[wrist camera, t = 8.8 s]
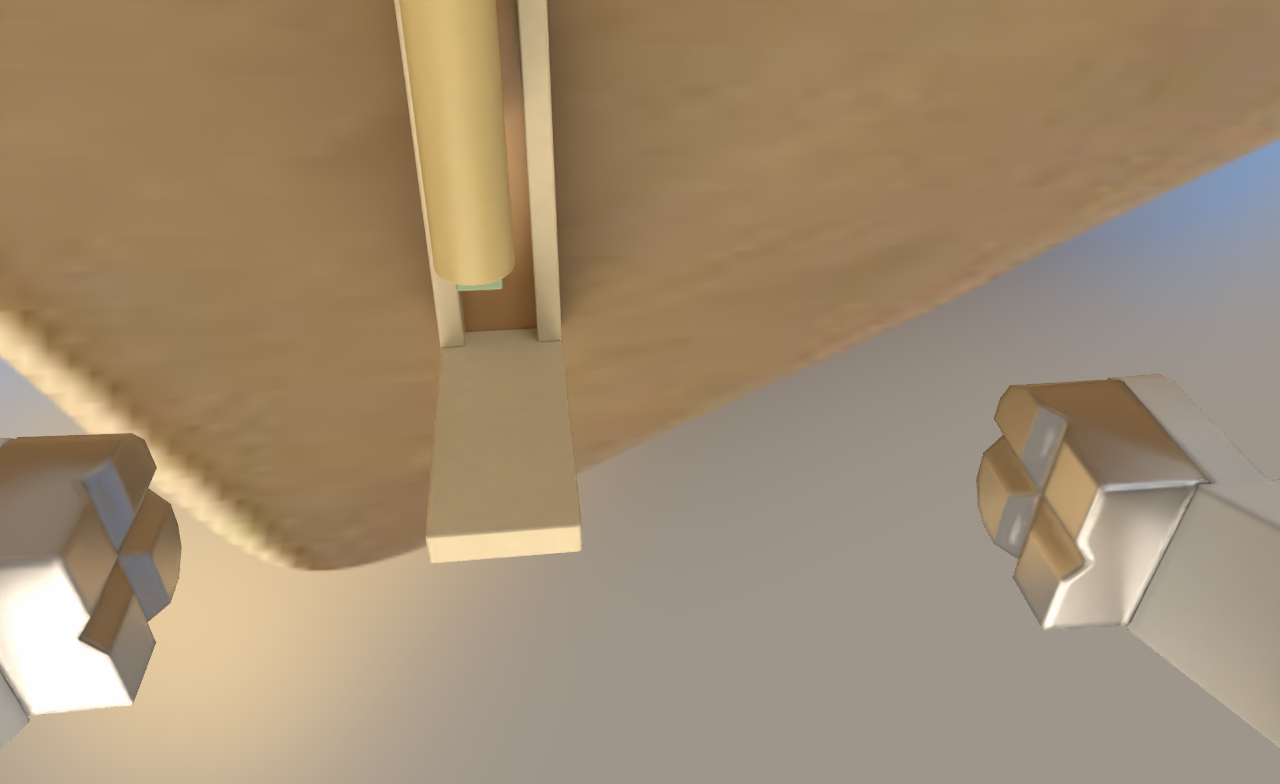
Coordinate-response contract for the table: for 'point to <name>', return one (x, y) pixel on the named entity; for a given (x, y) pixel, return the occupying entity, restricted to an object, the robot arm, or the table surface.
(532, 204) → the window frame
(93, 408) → the table surface
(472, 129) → the cylinder
